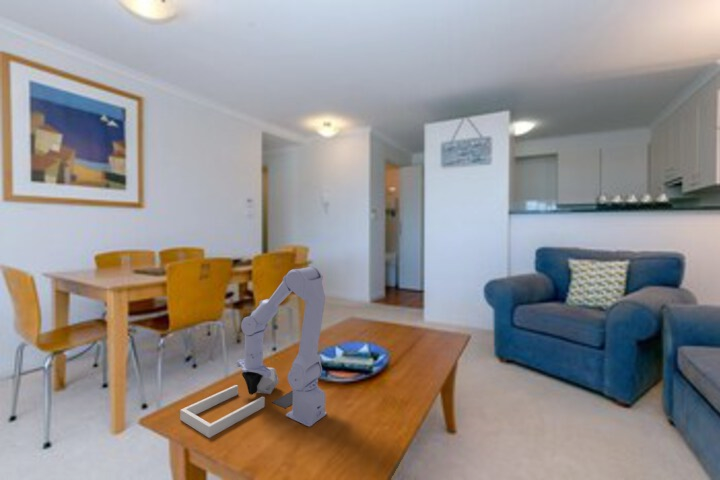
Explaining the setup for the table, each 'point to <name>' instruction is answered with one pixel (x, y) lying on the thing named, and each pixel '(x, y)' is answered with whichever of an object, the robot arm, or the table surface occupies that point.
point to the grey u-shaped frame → (211, 429)
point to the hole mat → (285, 400)
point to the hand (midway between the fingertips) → (252, 393)
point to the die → (268, 383)
